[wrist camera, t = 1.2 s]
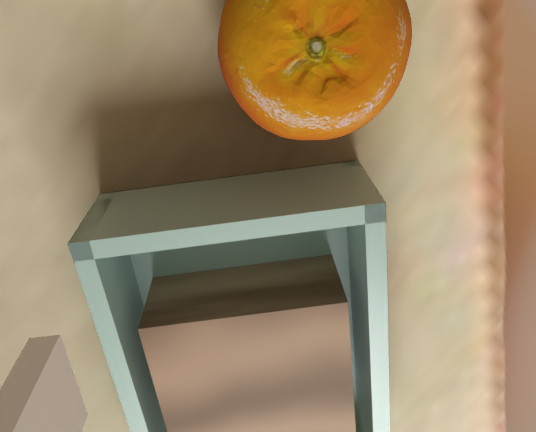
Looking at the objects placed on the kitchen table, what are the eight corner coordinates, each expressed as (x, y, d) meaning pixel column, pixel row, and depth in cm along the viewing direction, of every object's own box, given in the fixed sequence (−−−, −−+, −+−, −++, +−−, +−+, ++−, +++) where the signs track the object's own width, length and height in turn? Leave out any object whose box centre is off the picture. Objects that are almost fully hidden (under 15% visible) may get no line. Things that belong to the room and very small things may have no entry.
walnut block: (152, 277, 30) (137, 329, 26) (331, 254, 30) (347, 302, 26) (186, 409, 35) (179, 472, 31) (341, 389, 35) (356, 449, 31)
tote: (99, 193, 29) (67, 243, 23) (358, 160, 29) (385, 202, 23) (175, 456, 38) (164, 535, 33) (369, 431, 38) (391, 506, 33)
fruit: (335, -148, 20) (338, -19, 16) (434, 0, 25) (455, 124, 21) (193, -23, 25) (167, 99, 21) (301, 78, 30) (297, 190, 26)
